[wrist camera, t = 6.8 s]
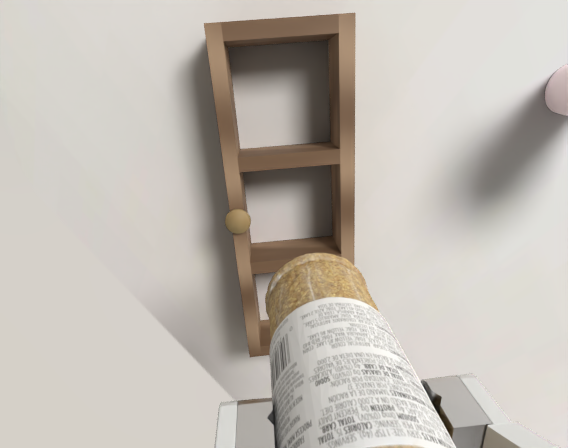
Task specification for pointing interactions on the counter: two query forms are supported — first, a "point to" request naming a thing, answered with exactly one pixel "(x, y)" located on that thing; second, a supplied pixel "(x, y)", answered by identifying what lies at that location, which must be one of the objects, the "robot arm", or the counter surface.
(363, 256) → the counter surface
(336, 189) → the spice caddy
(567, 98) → the smoothie
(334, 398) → the sprinkles bottle
